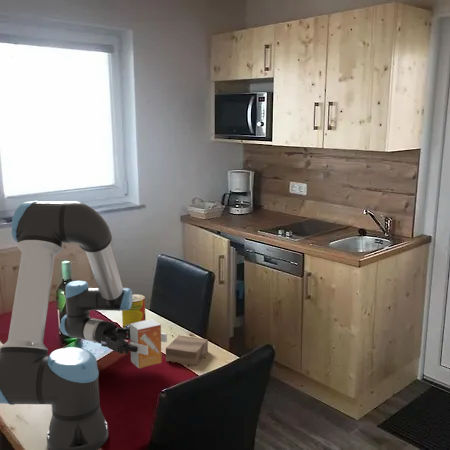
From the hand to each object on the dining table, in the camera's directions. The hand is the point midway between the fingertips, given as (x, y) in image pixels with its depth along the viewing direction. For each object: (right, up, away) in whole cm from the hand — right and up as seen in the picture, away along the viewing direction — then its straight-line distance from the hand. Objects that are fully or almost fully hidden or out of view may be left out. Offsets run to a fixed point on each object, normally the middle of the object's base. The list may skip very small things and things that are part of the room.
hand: (157, 344), depth 162 cm
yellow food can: (-15, -3, +42) cm, 45 cm away
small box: (-4, -7, +3) cm, 8 cm away
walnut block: (+8, -8, +17) cm, 20 cm away
